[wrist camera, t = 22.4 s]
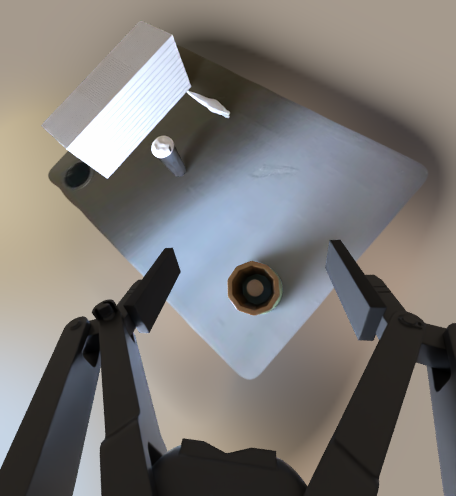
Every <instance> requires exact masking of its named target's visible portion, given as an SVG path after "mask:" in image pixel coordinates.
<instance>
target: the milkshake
mask: <svg viewBox="0 0 456 496" xmlns="http://www.w3.org/2000/svg"><path fill="white" fill-rule="evenodd" d="M152 153H153V154H154V155H155V156H156V157H157V158H158V159H159V160H160V161H161V162H162V163H163V164H164V165H165V166H166V167H167V168H168V169H169V170H170V171H171V172H172V173H173V174H174V175H175V176H176V177H182V176H183V175H184V174H185V173H186V167H185V165H184V163H183V161H182V159H181V157H180V155H179V153H178V151H177V149H176V147H175V145H174V142H173V140H172V139H171V138H169V137H167V136H160V137H158V138H156V139H155V141H154V142H153V144H152Z"/></svg>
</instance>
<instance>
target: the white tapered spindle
mask: <svg viewBox="0 0 456 496" xmlns="http://www.w3.org/2000/svg"><path fill="white" fill-rule="evenodd" d="M186 92H187V93H188V94H189V95H191V96H192V97H193V98H194V99H196V100H197V101H198V102H200V103H201V104H202V105H204V106H206V107H208V109H209V110H210V111H211V112H213V113H216V114H219V115H223V116H225V117H226V118H229V114H230V112H229V111H227V110H226V109H225V108H224V106H222V105H221V104H220V103H219V102H218V101H217V100H215V99H209V98H206V97H204V96H202V95H199V94H196V93H193V92H190V91H187V90H186Z"/></svg>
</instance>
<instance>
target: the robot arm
mask: <svg viewBox="0 0 456 496" xmlns="http://www.w3.org/2000/svg"><path fill="white" fill-rule="evenodd" d="M325 268H326V271H327V273H328V275H329V277H330V279H331V282H332V284H333V286H334V288H335V290H336V292H337V295H338V297H339V299H340V301H341V303H342V305H343V308H344V310H345V312H346V314H347V317H348V319H349V321H350V323H351V325H352V327H353V330H354V332H355V334H356V336H357V338H358V340H367V341H373V340H374V338H375V335H377V337H378V339H379V342H378V344H377V346H376V348H375V350H374V352H373V354H372V356H371V358H370V360H369V362H368V365H367V367H366V369H365V371H364V373H363V375H362V377H361V379H360V381H359V383H358V385H357V387H356V389H355V391H354V393H353V395H352V397H351V399H350V401H349V404H348V406H347V408H346V410H345V412H344V414H343V416H342V418H341V420H340V422H339V424H338V426H337V428H336V430H335V432H334V434H333V436H332V438H331V440H330V442H329V444H328V446H327V448H326V450H325V452H324V454H323V456H322V458H321V460H320V462H319V464H318V466H317V468H316V470H315V472H314V474H313V477H312V479H311V480H310V483H309V485H308V487H307V485H306V484H305V482H304V481H303V480H302V478H301V477H300V476H299V475H298V473H297V472H296V471H295V470H294V469H293V468H292V467H291V466H289V465H288V464H287V463H285V462H284V461H283V460H281V459H279V458H277V457H276V451H272V450H265V449H257V448H249V449H244V450H240V451H235V452H231V453H224V452H223V451H221V450H219V449H217V448H215V447H213V446H211V445H210V444H208V443H206V442H204V441H198V440H191V439H182V443H181V445H180V446H177V447H175V448H173V449H171V450H169V451H168V452H167V449H166V446H165V444H164V442H163V439H162V437H161V434H160V430H159V426H158V422H157V419H156V415H155V411H154V407H153V404H152V399H151V395H150V391H149V388H148V384H147V380H146V376H145V372H144V368H143V364H142V360H141V356H140V353H139V349H138V345H137V341H136V337H135V335H134V333H133V332H134V330H135V328H137V330H138V331H139V333H150V331H151V329H152V327H153V325H154V323H155V321H156V319H157V317H158V315H159V313H160V311H161V309H162V307H163V305H164V303H165V301H166V299H167V298H168V296H169V294H170V292H171V290H172V288H173V286H174V284H175V282H176V280H177V278H178V276H179V274H180V272H181V271H180V268H179V265H178V262H177V259H176V256H175V253H174V250H173V248H165V249H164V250H163V251H162V253H161V254H160V256H159V257H158V258H157V260H156V261H155V262H154V264H153V265H152V267H151V268H150V269H149V271H148V272H147V273H146V275H145V276H144V277H143V279H142V280H138V281H137V282H135V283H134V284H133V285H132V286H131V288H130V289H129V291H127V293H126V294H125V295H124V297H123V298H122V299H121V301H120V302H119V303H118V304H117V305H116V304H115V302H114V301H113V300H105V301H103V302H101V303H99V304H98V305H96V306H95V307H94V309H93V311H92V313H93V315H94V316H95V318H96V319H94V320H91V321H88V319H87V318H86V317H83V316H82V317H78V318H76V319H74V320H72V321H71V322H69V323H68V324H67V325H66V326H65V328H64V330H63V332H62V334H61V336H60V339H59V341H58V343H57V345H56V347H55V350H54V352H53V354H52V356H51V358H50V361H49V363H48V365H47V367H46V369H45V372H44V374H43V376H42V378H41V381H40V383H39V385H38V387H37V389H36V392H35V394H34V396H33V398H32V401H31V403H30V405H29V407H28V409H27V411H26V414H25V416H24V418H23V420H22V423H21V425H20V427H19V429H18V431H17V433H16V436H15V438H14V440H13V442H12V444H11V447H10V449H9V451H8V453H7V456H6V458H5V460H4V462H3V465H2V467H1V469H0V496H72V495H73V491H74V487H75V482H76V478H77V473H78V469H79V464H80V459H81V455H82V450H83V445H84V441H85V436H86V432H87V427H88V423H89V418H90V413H91V409H92V404H93V400H94V395H95V390H96V385H97V381H98V376H99V372H100V368H101V372H102V387H103V403H104V417H105V433H106V434H105V440H104V441H103V442H102V443H101V446H100V471H101V495H102V496H377V493H378V488H379V475H380V472H381V469H382V466H383V463H384V460H385V457H386V453H387V450H388V447H389V444H390V441H391V437H392V434H393V432H394V428H395V425H396V422H397V419H398V416H399V413H400V409H401V406H402V403H403V400H404V397H405V394H406V391H407V388H408V385H409V381H410V378H411V375H412V372H413V369H414V366H415V363H416V362H417V363H420V364H423V365H427V371H428V379H429V386H430V394H431V401H432V409H433V416H434V424H435V430H436V439H437V447H438V454H439V462H440V469H441V476H442V484H443V492H444V496H456V323H452V324H451V325H449V326H448V327H447V328H442V327H438V326H434V325H430V324H426V323H424V322H423V320H422V319H420V318H419V317H418V316H416V315H414V314H412V313H409V312H407V311H406V310H405V309H404V308H403V306H402V305H401V304H400V303H399V301H398V300H397V299H396V298H395V296H394V295H393V294H392V293H391V291H390V290H389V288H387V286H386V285H385V284H384V282H383V281H382V280H381V279H380V278H378V277H377V276H375V275H364V273H363V272H362V270H361V269H360V267H359V266H358V264H357V263H356V262H355V260H354V259H353V257H352V256H351V254H350V253H349V251H348V250H347V249H346V247H345V246H344V244H343V243H342V241H341V240H330V241H329V248H328V254H327V260H326V267H325Z"/></svg>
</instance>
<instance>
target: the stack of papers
mask: <svg viewBox="0 0 456 496" xmlns="http://www.w3.org/2000/svg"><path fill="white" fill-rule="evenodd" d="M179 56H180V54H179V52H178V49H177V47H176V43H175V41H174V38H173V35H172V34H169V33H167V32H165V31H163V30H161V29H159V28H157V27H154V26H152V25H150V24H148V23H146V22H144V21H142V20H140V21H139V22H138V23H137V24H136V26H134V27H133V29H132V30H131V31H130V32H129V33H128V34H127V35H126V36H125V37H124V38H123V39H122V40H121V41H120V42H119V44H118V45H116V47H115V48H114V49H113V50H112V51H111V52H110V53H109V54H108V55H107V56H106V57H105V58H104V59H103V60H102V61H101V62H100V64H99V65H98V66H97V67H96V68H95V69H94V70H93V71H92V72H91V73H90V74H89V75H88V76H87V77H86V78H85V79H84V81H82V83H81V84H80V85H79V86H78V87H77V88H76V89H75V90H74V91H73V92H72V93H71V94H70V95H69V96H68V97H67V99H66V100H65V101H64V102H63V103H62V104H61V105H60V106H59V107H58V108H57V109H56V110H55V111H54V112H53V113H52V114H51V115H50V117H48V119H47V120H46V121H45V122H44V123H43V124H42V125H41V126H42V127H43V128H44V129H45V130H46V131H47V132H48V133H49V134H51V135H52V136H53V137H54V138H55V139H56V140H57V141H58V142H59V143H60V144H61V145H62V146H64V147H65V148H66V149H67V150H68V151H70V152H71V153H72V154H74V155H75V156H77V157H78V158H80V159H81V160H82V161H84V162H85V163H86V164H88V165H89V166H91V167H92V168H93V169H95V170H96V171H98V172H99V173H100V174H102V175H103V176H105V177H106V178H107V179H108V178H109V177H110V175H111V174H112V173H113V172H114V171H115V170H116V169H117V168H118V167H119V166H120V164H121V163H122V162H123V161H124V160H125V159H126V158H127V157H128V156H129V155H130V153H131V152H132V151H133V150H134V149H135V148H136V147H137V146H138V145H139V144H140V142H141V141H142V140H143V139H144V138H145V137H146V136H147V135H148V134H149V132H150V131H151V130H152V129H153V128H154V127H155V126H156V125H157V124H158V123H159V121H160V120H161V119H162V118H163V117H164V116H165V115H166V114H167V113H168V112H169V110H170V109H171V108H172V107H173V106H174V105H175V104H176V103H177V102H178V101H179V99H180V98H181V97H182V96H183V95H184V94H185V93H186V90H187V91H188V90H189V88H190V87H191V85H190V83H189V79H188V76H187V75H186V71H185V68H184V66H183V63H182V62H181V61H182V60H181V57H179Z"/></svg>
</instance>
